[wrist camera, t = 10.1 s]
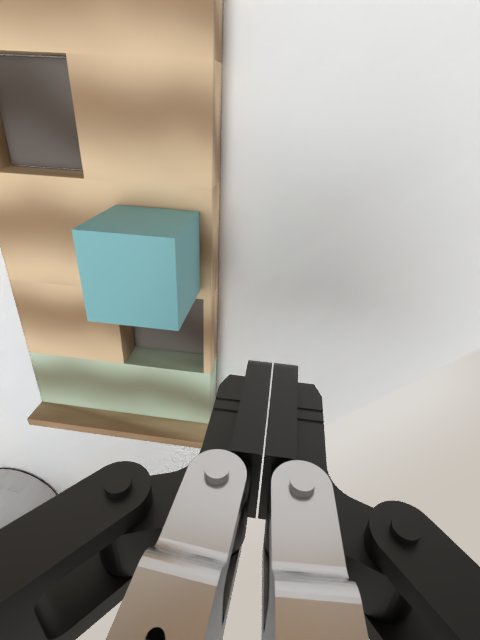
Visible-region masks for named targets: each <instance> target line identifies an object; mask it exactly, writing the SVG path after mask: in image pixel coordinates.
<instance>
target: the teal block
mask: <svg viewBox="0 0 480 640" xmlns="http://www.w3.org/2000/svg"><path fill="white" fill-rule="evenodd" d="M72 235H73V240H74V246H75V252H76V257H77V263H78V269H79V275H80V280H81V286H82V292H83V297H84V303H85V309H86V314H87V320H88V321H91V322H100V323H109V324H118V325H128V326H137V327H146V328H155V329H164V330H174V331H179V329H180V328H181V326H182V324H183V322H184V320H185V318H186V316H187V314H188V312H189V311H190V309H191V307H192V305H193V303H194V301H195V299H196V297H197V295H198V294H199V292H200V240H199V211H188V210H175V209H162V208H149V207H137V206H124V205H114V206H112V207H110V208H109V209H107V210H105V211H103V212H102V213H100V214H98V215H96V216H95V217H93V218H91V219H89V220H87V221H86V222H84V223H82V224H80V225H79V226H77V227H75V228H73V229H72Z"/></svg>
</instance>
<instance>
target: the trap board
mask: <svg viewBox="0 0 480 640" xmlns="http://www.w3.org/2000/svg"><path fill="white" fill-rule="evenodd" d="M222 37H223V0H0V54H20V55H42V56H65V57H66V58H45V57H22V56H0V248H1V251H2V255H3V259H4V262H5V266H6V270H7V274H8V277H9V281H10V285H11V288H12V292H13V296H14V299H15V303H16V307H17V310H18V314H19V318H20V321H21V325H22V329H23V332H24V336H25V340H26V344H27V347H28V351H29V355H30V358H31V362H32V366H33V369H34V373H35V377H36V380H37V384H38V388H39V391H40V395H41V399H42V402H41V404H40V405H39V406H38V407H37V408H36V409H35V411H34V412H33V413H32V414H31V415H30V416H29V418H28V422H29V424H30V425H37V426H44V427H51V428H59V429H66V430H73V431H80V432H87V433H94V434H101V435H109V436H116V437H123V438H130V439H137V440H144V441H151V442H159V443H166V444H173V445H180V446H187V447H194V448H202V444H203V441H204V438H205V434H206V431H207V427H208V424H209V420H210V417H211V413H212V410H213V406H214V403H215V400H216V362H217V308H218V253H219V199H220V145H221V91H222ZM13 165H27V166H41V167H55V168H68V169H82V170H83V171H81V170H68V169H54V168H40V167H27V166H13ZM114 205H124V206H137V207H149V208H162V209H175V210H188V211H199V240H200V292H199V294H198V295H197V297H196V299H195V301H194V303H193V305H192V307H191V309H190V311H189V312H188V314H187V316H186V318H185V320H184V322H183V324H182V326H181V328H180V329H179V331H174V330H164V329H155V328H146V327H137V326H128V325H118V324H109V323H100V322H91V321H88V320H87V314H86V309H85V303H84V297H83V292H82V286H81V280H80V275H79V269H78V263H77V257H76V252H75V246H74V240H73V235H72V229H73V228H75V227H77V226H79V225H80V224H82V223H84V222H86V221H87V220H89V219H91V218H93V217H95V216H96V215H98V214H100V213H102V212H103V211H105V210H107V209H109V208H110V207H112V206H114ZM134 331H135V333H134ZM135 341H136V342H135Z"/></svg>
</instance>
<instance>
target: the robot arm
mask: <svg viewBox="0 0 480 640" xmlns="http://www.w3.org/2000/svg"><path fill="white" fill-rule="evenodd" d="M271 368H272V363H269V362H260V361H251V360H249V361H248V365H247V370H246V375H245V376H237V375H229V376H228V377H227V378H226V379H225V380H224V381H223V382H222V383H221V384H220V385H219V389H218V392H217V396H216V400H215V403H214V406H213V410H212V413H211V417H210V420H209V424H208V427H207V431H206V434H205V438H204V441H203V444H202V448H201V451H200V453H199V455H197V456H196V457H195V458H194V459H193V460H192V461H191V462H190V464H189V465H188V466H187V467H185V468H183V469H181V470H178V471H175V472H171V473H165V474H158V475H152V476H150V475H149V473H148V471H147V470H146V469H145V468H144V467H143V466H141V465H140V464H137V463H135V462H130V461H122V462H116V463H112V464H110V465H107V466H105V467H103V468H102V469H100V470H98V471H97V472H95V473H93V474H92V475H90V476H88V477H87V478H85V479H83V480H81V481H80V482H78V483H76V484H75V485H73V486H71V487H70V488H68V489H66V490H65V491H63V492H61V493H60V494H58V495H56V494H55V493H54V492H53V490H52V489H51V488H49V487H48V486H47V485H46V484H45V483H43V482H42V481H40V480H39V479H37V478H35V477H33V476H31V475H29V474H26V473H23V472H20V471H16V470H10V469H0V640H75V639H77V638H78V637H79V636H80V635H81V634H83V633H84V632H85V631H86V630H87V629H89V628H90V627H91V626H92V625H93V624H94V623H95V622H97V621H98V620H99V619H100V618H102V617H103V616H104V615H105V614H106V613H107V612H109V611H110V610H111V609H112V608H113V607H115V606H116V605H117V604H118V603H119V602H120V601H122V600H123V601H122V603H121V605H120V608H119V610H118V612H117V615H116V617H115V619H114V622H113V624H112V627H111V629H110V631H109V633H108V636H107V638H106V640H223V633H224V629H225V623H226V619H227V614H228V609H229V605H230V600H231V595H232V590H233V586H234V581H235V576H236V572H237V567H238V562H239V557H240V553H241V546H242V543H243V541H244V538H245V532H246V524H247V517H252V518H255V517H256V508H257V499H258V490H259V481H260V472H261V463H262V454H263V445H264V436H265V427H266V418H267V408H268V398H269V388H270V378H271ZM323 422H324V421H323V406H322V396H321V395H320V393H319V392H318V390H317V389H316V387H315V385H314V384H305V383H298V366H296V365H287V364H278V363H274V369H273V379H272V388H271V398H270V408H269V417H268V427H267V436H266V446H265V455H264V465H263V475H262V485H261V494H260V504H259V514H258V518H259V519H266V524H265V536H264V545H263V561H262V565H263V566H262V568H263V569H262V640H369V639H370V640H480V567H479V566H478V565H477V564H476V563H475V562H474V561H473V560H472V559H471V558H470V557H469V556H468V555H467V554H466V553H465V552H464V551H463V550H461V549H460V548H459V547H458V546H457V545H456V544H455V543H454V542H453V541H452V540H451V539H450V538H449V537H448V536H447V535H446V534H445V533H444V532H443V531H442V530H441V529H440V528H439V527H437V526H436V525H435V524H434V523H433V522H432V521H431V520H430V519H429V518H428V517H427V516H426V515H425V514H424V513H422V512H421V511H420V510H418V509H417V508H415V507H413V506H411V505H409V504H406V503H403V502H400V501H385V502H382V503H380V504H378V505H377V506H375V507H374V508H373V507H370V506H368V505H366V504H363V503H361V502H359V501H357V500H354V499H353V498H351V497H349V496H347V495H346V494H344V493H343V492H342V491H341V490H339V489H338V488H337V487H336V486H335V484H334V483H333V482H332V480H331V479H330V476H329V474H328V471H327V466H326V451H325V436H324V424H323Z"/></svg>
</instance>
